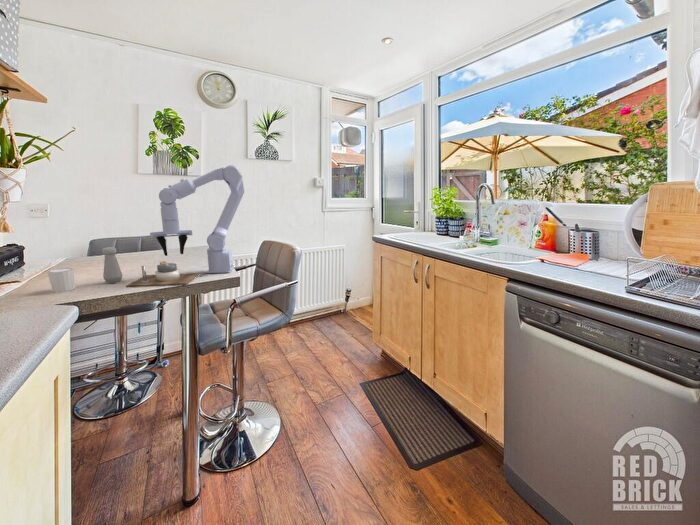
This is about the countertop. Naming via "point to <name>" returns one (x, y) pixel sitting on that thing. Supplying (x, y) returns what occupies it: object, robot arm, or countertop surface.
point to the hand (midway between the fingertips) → (174, 254)
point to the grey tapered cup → (62, 279)
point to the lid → (166, 267)
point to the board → (182, 280)
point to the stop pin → (144, 275)
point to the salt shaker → (111, 266)
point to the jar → (167, 275)
